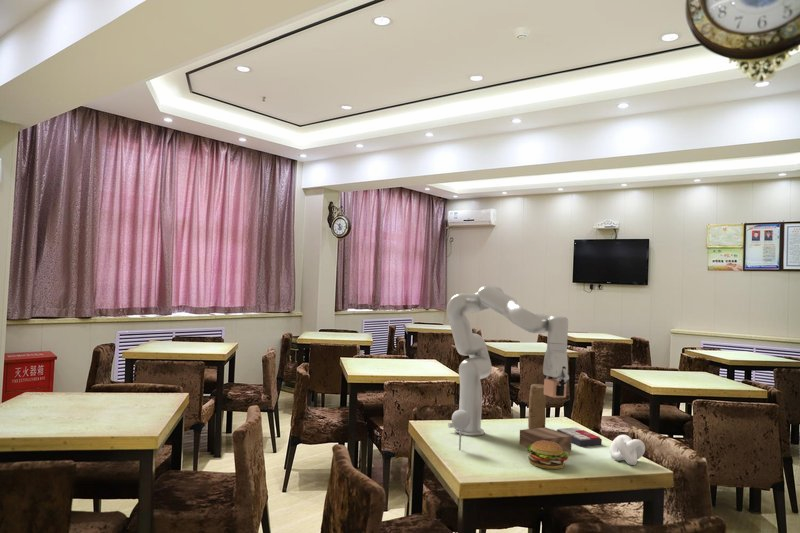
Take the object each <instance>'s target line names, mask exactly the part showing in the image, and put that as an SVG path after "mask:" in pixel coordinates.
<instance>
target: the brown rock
mask: <svg viewBox="0 0 800 533" xmlns="http://www.w3.org/2000/svg"><path fill="white" fill-rule="evenodd" d="M546 396H547V395H544V383H543V384H541V383H532V384H530V388H529V398H528V416H527V417H528V418H527V419H528V421H527V422H528V424H527V425H528V429H535V428H545V427H546V417H547V416H546V411H547V410H546V408H547V406H546V405H547V403H546V402H547V397H546Z"/></svg>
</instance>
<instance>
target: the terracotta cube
mask: <svg viewBox="0 0 800 533" xmlns="http://www.w3.org/2000/svg"><path fill="white" fill-rule="evenodd" d="M561 380H562V379H560V381H561ZM567 383H568V381H567V382H566V385H565V386H564V396H556V386H557V385H558V383H557V378H553V379H545V378H544V379H543V385H544V395H546V396H548V397H550V398H566V397H567Z"/></svg>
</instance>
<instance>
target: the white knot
mask: <svg viewBox="0 0 800 533" xmlns="http://www.w3.org/2000/svg"><path fill="white" fill-rule="evenodd" d="M645 445H646V444H645V443H644V442H643V441H642V440H641V439H638V438H637V439H636V438H635V439H634V438H633V439H632V437H630V436H629V435H627V434H620V435H617V436H616V437H615V438H614V439H613V440H612V442H611V444H610V447H609V454H610V457H611V458H612V459H613V460H614V461H616V462H622V461H623V460H625V462H626V463H627V464H628V465H631V466H635V465H636V464H637V463H638V460H639V459H640V458H642V456H643V455H644V454H645V451H646V446H645Z"/></svg>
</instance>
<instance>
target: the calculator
mask: <svg viewBox="0 0 800 533" xmlns="http://www.w3.org/2000/svg"><path fill="white" fill-rule="evenodd" d="M556 431H558V432H561V433H564V434H567V435H570V436H572V443H571V445H572V444H573V445H575V446H577V447H580V448H585V447H587V448H588V447H597V446H602V443H603V442H602V441H603V440H602V438H601V437H600V436H598V435H596V434H594V433H591V432H589V431H587V430H584V429H581V428H579V427H567V428H566V427H565V428H557V429H556Z"/></svg>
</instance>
